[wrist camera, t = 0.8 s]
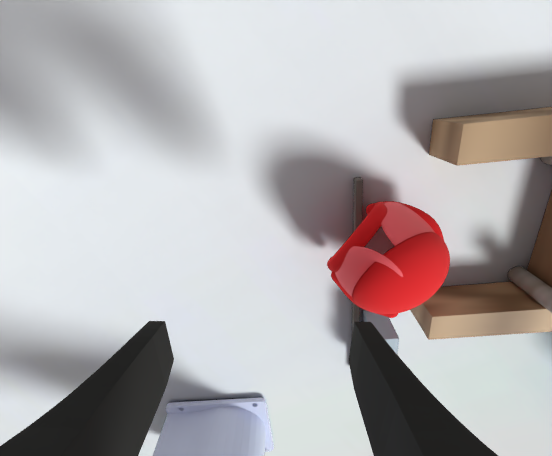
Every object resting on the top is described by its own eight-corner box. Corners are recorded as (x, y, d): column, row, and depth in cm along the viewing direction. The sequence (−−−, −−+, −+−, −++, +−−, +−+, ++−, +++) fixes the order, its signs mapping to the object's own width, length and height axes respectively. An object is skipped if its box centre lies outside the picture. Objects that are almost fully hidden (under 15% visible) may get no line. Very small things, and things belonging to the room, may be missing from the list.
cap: (295, 291, 16) (383, 368, 15) (360, 218, 12) (480, 312, 11) (341, 235, 22) (405, 286, 21) (393, 175, 19) (473, 233, 18)
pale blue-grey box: (361, 356, 24) (375, 399, 21) (363, 309, 22) (378, 349, 19) (380, 354, 24) (398, 398, 21) (384, 308, 22) (403, 347, 18)
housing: (351, 367, 25) (365, 420, 21) (354, 127, 17) (378, 138, 13) (523, 356, 24) (573, 409, 20) (616, 99, 16) (734, 101, 12)
